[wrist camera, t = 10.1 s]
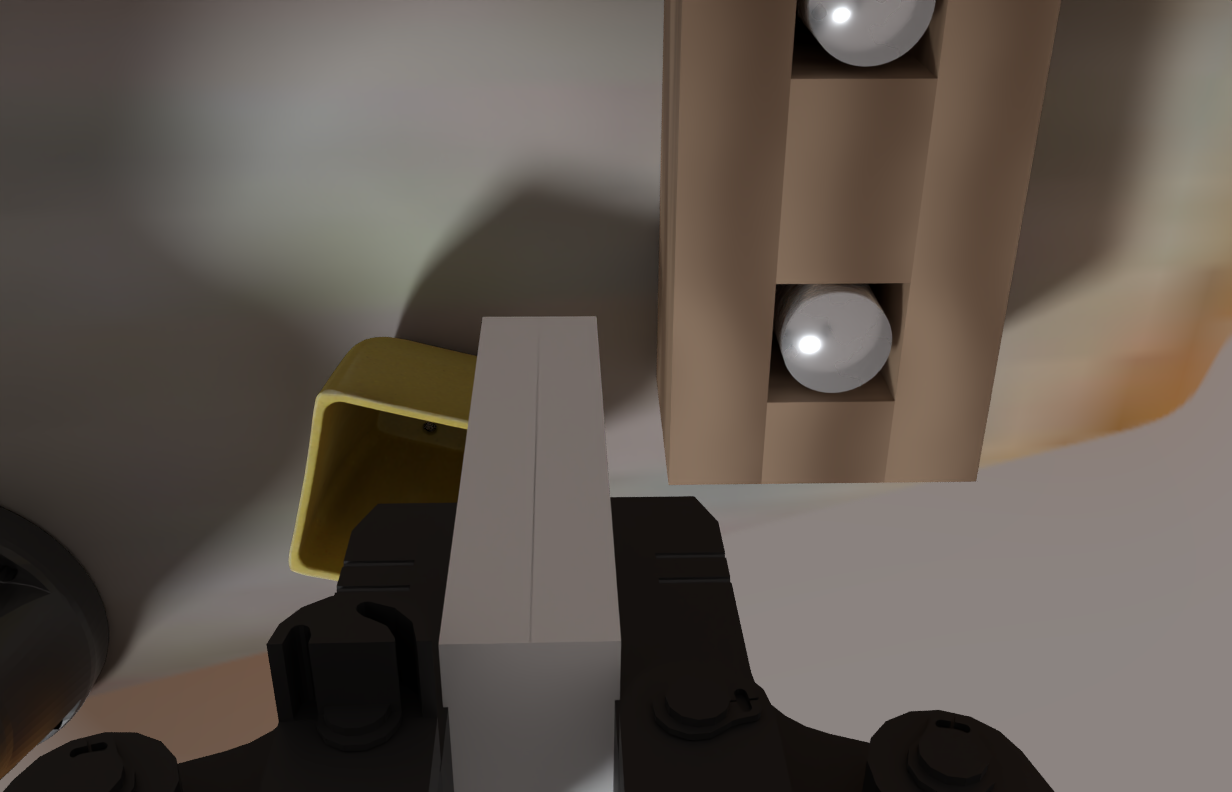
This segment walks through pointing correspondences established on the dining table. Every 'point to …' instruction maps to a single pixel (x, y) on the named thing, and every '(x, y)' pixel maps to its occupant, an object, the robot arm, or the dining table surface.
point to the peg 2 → (831, 334)
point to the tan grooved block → (839, 234)
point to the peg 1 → (866, 27)
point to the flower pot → (380, 443)
